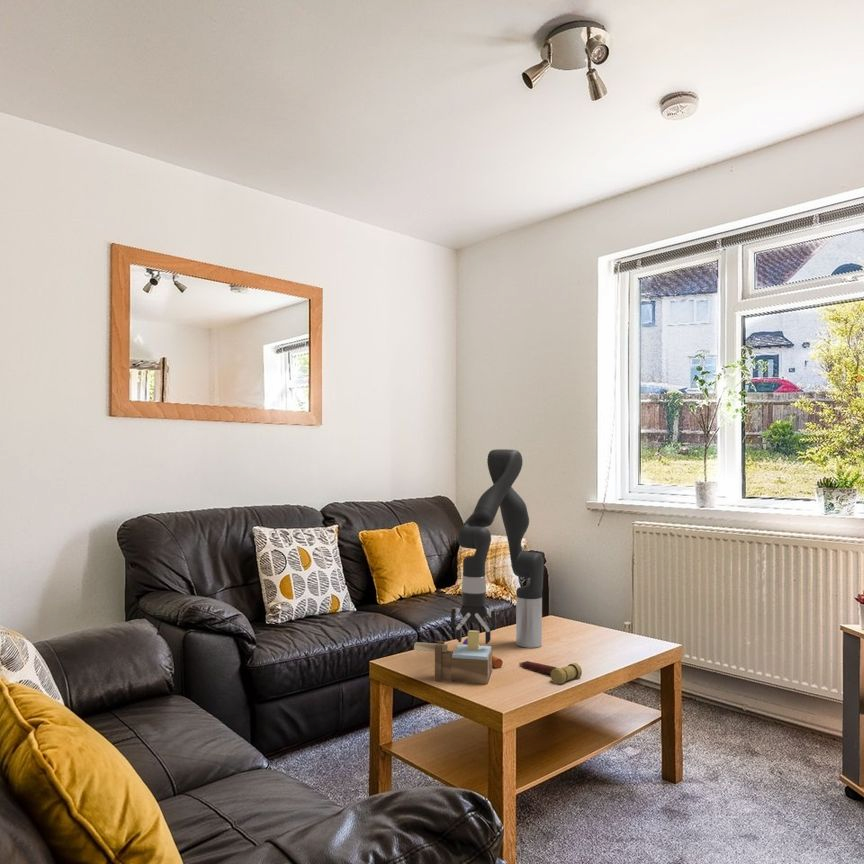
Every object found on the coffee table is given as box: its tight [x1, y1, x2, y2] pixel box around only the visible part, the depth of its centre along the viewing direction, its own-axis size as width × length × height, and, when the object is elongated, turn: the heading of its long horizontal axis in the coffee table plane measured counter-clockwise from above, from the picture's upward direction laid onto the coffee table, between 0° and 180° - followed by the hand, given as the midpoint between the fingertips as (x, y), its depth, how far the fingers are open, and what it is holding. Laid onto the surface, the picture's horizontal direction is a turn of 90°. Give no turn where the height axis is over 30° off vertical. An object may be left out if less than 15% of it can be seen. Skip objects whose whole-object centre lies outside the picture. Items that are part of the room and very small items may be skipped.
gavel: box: [518, 660, 583, 685], centre depth 211 cm, size 21×5×10 cm
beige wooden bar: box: [413, 641, 449, 653], centre depth 206 cm, size 2×10×2 cm, turn 78°
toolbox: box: [434, 640, 493, 685], centre depth 208 cm, size 12×16×11 cm
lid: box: [452, 629, 492, 660], centre depth 208 cm, size 12×11×7 cm
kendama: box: [462, 637, 504, 669], centre depth 225 cm, size 6×6×20 cm
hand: (473, 642), depth 210 cm, fingers open, 8 cm apart
